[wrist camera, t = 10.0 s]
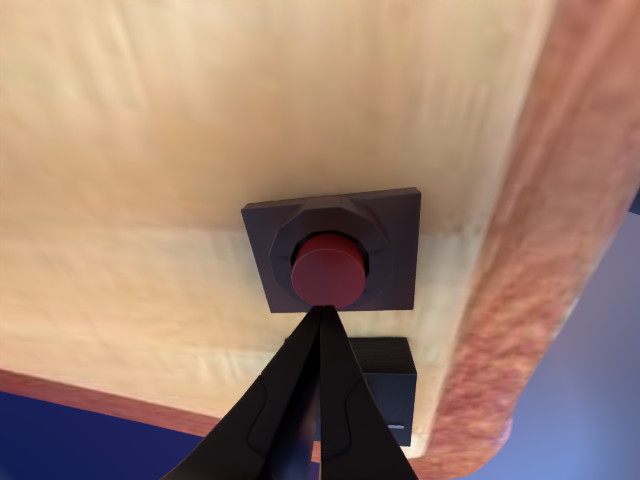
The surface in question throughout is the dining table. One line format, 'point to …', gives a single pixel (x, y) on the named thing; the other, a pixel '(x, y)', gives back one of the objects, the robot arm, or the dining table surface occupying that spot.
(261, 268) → the button block
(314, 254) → the red button
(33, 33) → the dining table surface
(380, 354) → the black dial base
